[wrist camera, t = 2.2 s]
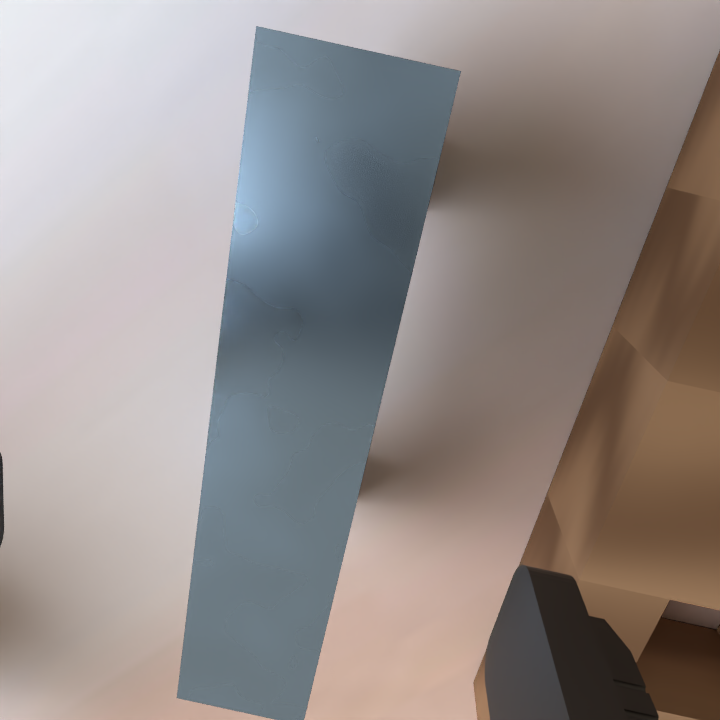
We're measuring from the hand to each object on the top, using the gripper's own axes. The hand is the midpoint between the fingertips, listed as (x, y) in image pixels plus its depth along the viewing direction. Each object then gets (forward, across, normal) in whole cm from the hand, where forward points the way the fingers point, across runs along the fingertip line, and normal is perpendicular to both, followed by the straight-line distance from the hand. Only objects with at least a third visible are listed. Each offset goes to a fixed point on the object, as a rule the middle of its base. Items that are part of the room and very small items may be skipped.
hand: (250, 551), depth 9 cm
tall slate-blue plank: (+10, 0, 0) cm, 10 cm away
